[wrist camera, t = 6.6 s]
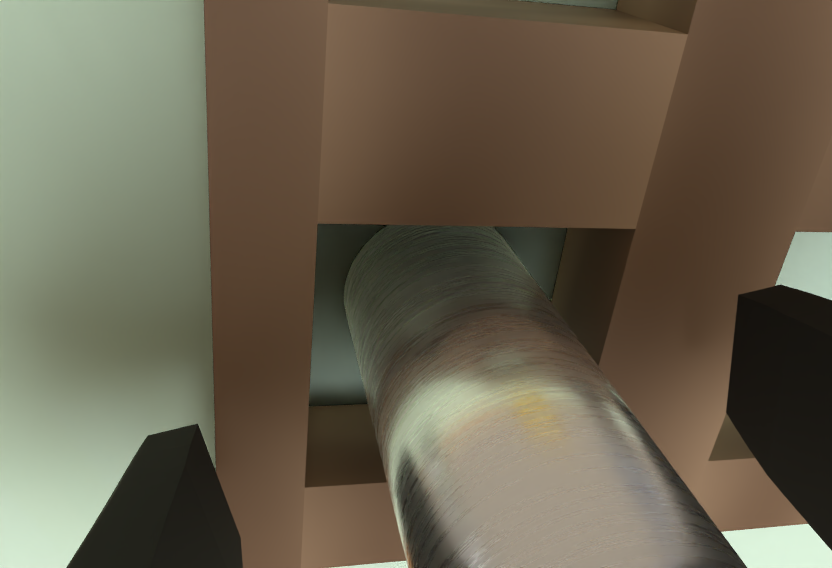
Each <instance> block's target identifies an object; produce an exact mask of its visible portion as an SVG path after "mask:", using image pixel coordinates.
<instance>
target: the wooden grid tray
mask: <svg viewBox="0 0 832 568" xmlns="http://www.w3.org/2000/svg"><path fill="white" fill-rule="evenodd" d="M204 25H205V63H206V102H207V141H208V179H209V218H210V257H211V295H212V334H213V373H214V411H215V450H216V474H217V476H218V479H219V482H220V484H221V487H222V489H223V492H224V495H225V497H226V500H227V503H228V505H229V508H230V511H231V513H232V516H233V518H234V521H235V524H236V526H237V529H238V532H239V534H240V537H241V548H242V561H243V568H329V567H340V566H351V565H362V564H373V563H384V562H395V561H405V560H406V557H405V553H404V549H403V545H402V541H401V536H400V532H399V528H398V524H397V520H396V516H395V512H394V508H393V504H392V500H391V496H390V492H389V488H388V484H387V480H386V475H385V471H384V467H383V463H382V459H381V455H380V451H379V447H378V443H377V439H376V435H375V431H374V427H373V423H372V418H371V414H370V410H369V406H368V404H356V405H332V406H309V389H310V369H311V348H312V328H313V307H314V287H315V266H316V245H317V225H318V223H319V224H378V225H437V226H496V227H555V228H568V229H567V234H566V238H565V243H564V247H563V252H562V256H561V261H560V265H559V270H558V274H557V279H556V283H555V288H554V292H553V297H552V301H551V303H552V304H553V306H554V307H555V308H556V310H557V311H558V312H559V314H560V315H561V317H562V318H563V319H564V321H565V322H566V323H567V325H568V326H569V327H570V329H571V330H572V331H573V333H574V334H575V335H576V337H577V338H578V340H579V341H580V342H581V344H582V345H583V346H584V348H585V349H586V350H587V352H588V353H589V354H590V356H591V357H592V358H593V360H594V361H595V363H596V364H597V365H598V367H599V368H600V369H601V371H602V372H603V373H604V375H605V376H606V377H607V379H608V380H609V381H610V383H611V384H612V385H613V387H614V388H615V390H616V391H617V392H618V394H619V395H620V396H621V398H622V399H623V400H624V402H625V403H626V404H627V406H628V407H629V408H630V410H631V411H632V413H633V414H634V415H635V417H636V418H637V419H638V421H639V422H640V423H641V425H642V426H643V427H644V429H645V430H646V431H647V433H648V434H649V436H650V437H651V438H652V440H653V441H654V442H655V444H656V445H657V446H658V448H659V449H660V450H661V452H662V453H663V454H664V456H665V457H666V459H667V460H668V461H669V463H670V464H671V465H672V467H673V468H674V469H675V471H676V472H677V473H678V475H679V476H680V477H681V479H682V480H683V482H684V483H685V484H686V486H687V487H688V488H689V490H690V491H691V492H692V494H693V495H694V496H695V498H696V499H697V500H698V502H699V503H700V505H701V506H702V507H703V509H704V510H705V511H706V513H707V514H708V515H709V517H710V518H711V519H712V521H713V522H714V523H715V525H716V526H717V528H718V529H719V530H720V532H722V531H733V530H744V529H755V528H766V527H777V526H788V525H798V524H808V523H807V522H806V520H805V519H804V518H803V517H802V516H801V515H800V513H799V512H798V511H797V510H796V509H795V508H794V506H793V505H792V504H791V503H790V502H789V501H788V499H787V498H786V497H785V496H784V495H783V494H782V492H781V491H780V490H779V489H778V488H777V486H776V485H775V484H774V483H773V482H772V480H771V479H770V478H769V477H768V476H767V474H766V473H765V471H764V470H763V468H762V467H761V466H760V464H759V463H758V461H757V460H756V458H755V457H754V455H753V454H752V452H751V451H750V450H749V448H748V447H747V445H746V443H745V442H744V440H743V439H742V437H741V436H740V434H739V432H738V431H737V429H736V428H735V426H734V424H733V423H732V421H731V420H730V418H729V417H728V415H727V413H726V407H727V397H728V388H729V378H730V368H731V359H732V349H733V340H734V330H735V320H736V311H737V301H738V295H739V294H744V293H748V292H752V291H756V290H760V289H765V288H769V287H773V286H775V284H776V281H777V279H778V276H779V273H780V271H781V268H782V265H783V263H784V260H785V258H786V255H787V252H788V250H789V247H790V244H791V242H792V239H793V236H794V234H795V232H832V0H618V4H617V9H616V10H614V9H603V8H592V7H582V6H571V5H560V4H549V3H539V2H528V1H517V0H204Z"/></svg>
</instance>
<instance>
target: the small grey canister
mask: <svg viewBox="0 0 832 568" xmlns="http://www.w3.org/2000/svg"><path fill="white" fill-rule="evenodd" d="M344 306H345V313H346V317H347V321H348V325H349V329H350V333H351V337H352V341H353V345H354V349H355V353H356V357H357V362H358V366H359V370H360V374H361V378H362V382H363V386H364V390H365V394H366V398H367V402H368V406H369V410H370V414H371V418H372V423H373V427H374V431H375V435H376V439H377V443H378V447H379V451H380V455H381V459H382V463H383V467H384V471H385V475H386V480H387V484H388V488H389V492H390V496H391V500H392V504H393V508H394V512H395V516H396V520H397V524H398V528H399V532H400V536H401V541H402V545H403V549H404V553H405V557H406V561H407V565H408V568H747V567H746V565H745V564H744V563H743V561H742V560H741V559H740V557H739V556H738V555H737V553H736V552H735V551H734V549H733V548H732V546H731V545H730V544H729V542H728V541H727V540H726V538H725V537H724V536H723V534H722V533H721V532H720V530H719V529H718V528H717V526H716V525H715V523H714V522H713V521H712V519H711V518H710V517H709V515H708V514H707V513H706V511H705V510H704V509H703V507H702V506H701V505H700V503H699V502H698V500H697V499H696V498H695V496H694V495H693V494H692V492H691V491H690V490H689V488H688V487H687V486H686V484H685V483H684V482H683V480H682V479H681V477H680V476H679V475H678V473H677V472H676V471H675V469H674V468H673V467H672V465H671V464H670V463H669V461H668V460H667V459H666V457H665V456H664V454H663V453H662V452H661V450H660V449H659V448H658V446H657V445H656V444H655V442H654V441H653V440H652V438H651V437H650V436H649V434H648V433H647V431H646V430H645V429H644V427H643V426H642V425H641V423H640V422H639V421H638V419H637V418H636V417H635V415H634V414H633V413H632V411H631V410H630V408H629V407H628V406H627V404H626V403H625V402H624V400H623V399H622V398H621V396H620V395H619V394H618V392H617V391H616V390H615V388H614V387H613V385H612V384H611V383H610V381H609V380H608V379H607V377H606V376H605V375H604V373H603V372H602V371H601V369H600V368H599V367H598V365H597V364H596V363H595V361H594V360H593V358H592V357H591V356H590V354H589V353H588V352H587V350H586V349H585V348H584V346H583V345H582V344H581V342H580V341H579V340H578V338H577V337H576V335H575V334H574V333H573V331H572V330H571V329H570V327H569V326H568V325H567V323H566V322H565V321H564V319H563V318H562V317H561V315H560V314H559V312H558V311H557V310H556V308H555V307H554V306H553V304H552V303H551V302H550V300H549V299H548V298H547V296H546V295H545V294H544V292H543V291H542V289H541V288H540V287H539V285H538V284H537V283H536V281H535V280H534V279H533V277H532V276H531V275H530V273H529V272H528V271H527V269H526V268H525V266H524V265H523V264H522V262H521V261H520V260H519V258H518V257H517V256H516V254H515V253H514V252H513V250H512V249H511V248H510V246H509V245H508V243H507V242H506V241H505V239H504V238H503V237H502V236H501V235H500V234H499V232H498V231H497V230H496V229H494V228H493V227H492V226H437V225H388V226H386V227H385V228H383V229H382V230H380V231H379V232H378V233H376V234H375V235H374V236H373V237H372V238H371V239H370V240H369V241H368V242H367V243H366V244H365V245H364V247H363V248H362V249H361V250H360V252H359V253H358V255H357V256H356V258H355V259H354V261H353V263H352V265H351V267H350V270H349V272H348V275H347V279H346V283H345V289H344Z"/></svg>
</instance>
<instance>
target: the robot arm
mask: <svg viewBox="0 0 832 568" xmlns="http://www.w3.org/2000/svg"><path fill="white" fill-rule="evenodd" d="M726 413H727V415H728V417H729V418H730V420H731V421H732V423H733V424H734V426H735V428H736V429H737V431H738V432H739V434H740V436H741V437H742V439H743V440H744V442H745V443H746V445H747V447H748V448H749V450H750V451H751V452H752V454H753V455H754V457H755V458H756V460H757V461H758V463H759V464H760V466H761V467H762V468H763V470H764V471H765V473H766V474H767V476H768V477H769V478H770V479H771V480H772V482H773V483H774V484H775V485H776V486H777V488H778V489H779V490H780V491H781V492H782V494H783V495H784V496H785V497H786V498H787V499H788V501H789V502H790V503H791V504H792V505H793V506H794V508H795V509H796V510H797V511H798V512H799V513H800V515H801V516H802V517H803V518H804V519H805V520H806V522H807V523H808V524H809V525H810V526H811V527H812V528H813V530H814V531H815V532H816V533H817V534H818V535H819V536H820V538H821V539H822V540H823V541H824V542H825V543H826V544H827V546H828V547H829V548H830V549H831V550H832V300H829V299H826V298H823V297H820V296H817V295H814V294H811V293H807V292H804V291H801V290H797V289H794V288H790V287H787V286H783V285H777V286H773V287H769V288H765V289H760V290H756V291H752V292H748V293H744V294H739V295H738V301H737V311H736V320H735V330H734V340H733V349H732V359H731V368H730V378H729V388H728V397H727V407H726ZM67 568H243V561H242V548H241V537H240V534H239V532H238V529H237V526H236V524H235V521H234V518H233V516H232V513H231V511H230V508H229V505H228V503H227V500H226V497H225V495H224V492H223V489H222V487H221V484H220V482H219V479H218V476H217V474H216V471H215V468H214V466H213V463H212V460H211V458H210V455H209V452H208V450H207V447H206V445H205V442H204V439H203V437H202V434H201V431H200V429H199V426H198V424H195V425H191V426H186V427H182V428H178V429H174V430H170V431H165V432H161V433H157V434H153V435H149V436H147V438H146V439H145V441H144V442H143V443H142V445H141V447H140V448H139V450H138V451H137V453H136V455H135V456H134V458H133V460H132V461H131V463H130V465H129V466H128V468H127V470H126V471H125V473H124V475H123V476H122V478H121V480H120V481H119V483H118V485H117V487H116V488H115V490H114V492H113V493H112V495H111V497H110V498H109V500H108V502H107V503H106V505H105V507H104V508H103V510H102V512H101V513H100V515H99V517H98V518H97V520H96V521H95V523H94V525H93V526H92V528H91V530H90V531H89V533H88V535H87V536H86V538H85V539H84V541H83V542H82V544H81V546H80V547H79V549H78V550H77V552H76V553H75V555H74V557H73V558H72V560H71V561H70V563H69V564H68V566H67Z"/></svg>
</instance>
